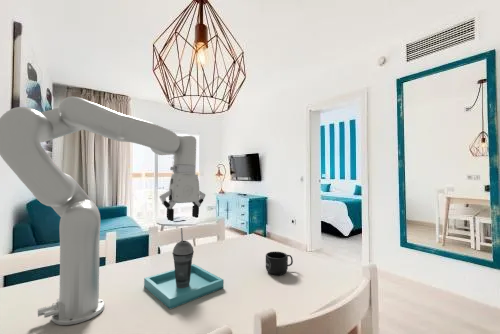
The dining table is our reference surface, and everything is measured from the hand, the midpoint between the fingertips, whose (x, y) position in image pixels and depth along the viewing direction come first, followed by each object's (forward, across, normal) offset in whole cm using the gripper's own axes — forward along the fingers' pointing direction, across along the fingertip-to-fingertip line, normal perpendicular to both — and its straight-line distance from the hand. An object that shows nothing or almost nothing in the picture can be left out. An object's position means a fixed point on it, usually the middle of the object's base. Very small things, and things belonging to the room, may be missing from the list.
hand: (183, 218), depth 90 cm
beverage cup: (+24, 0, 0) cm, 24 cm away
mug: (+24, +37, -14) cm, 46 cm away
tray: (+24, +1, 0) cm, 24 cm away
